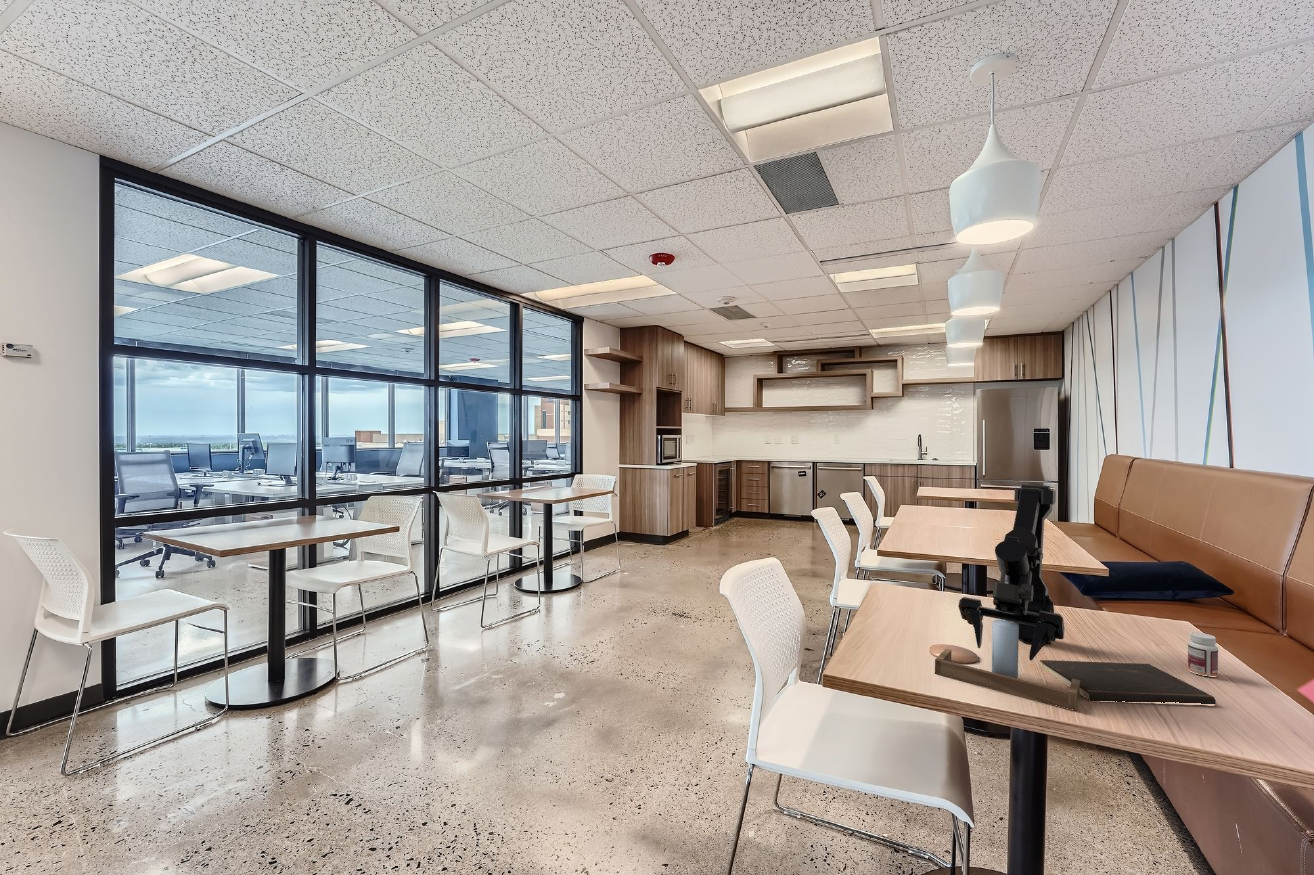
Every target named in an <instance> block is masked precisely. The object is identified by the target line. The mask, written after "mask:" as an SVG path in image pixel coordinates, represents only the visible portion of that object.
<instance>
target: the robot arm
mask: <svg viewBox="0 0 1314 875" xmlns="http://www.w3.org/2000/svg"><path fill="white" fill-rule="evenodd" d="M1013 500H1014V503H1016V502H1017V507H1016V512H1015V517H1014V523H1013V527H1012V530H1010V531H1009V532H1007V533H1005V535H1004V539H1003V541H1000V542H999V543H998V544H997V545H995V547H994V553H995V558H996V562H997V567H998V570H999V572H1000V578H999V582H998V581H996V582H994V583H993V590H992V591H993V592H992V598H993V599H992V603H993V606H995V607H994V608H992V607H988V606H983V605H982V601H981V600H982V599H977V598H972V597H966V596H963V597H961V598H960V599H959V601H958V610H959V614H960V616H961V619H962V620H964V621H966V622H967V623H968V624H969V625H972V626H973V629H974V635H975V641H976V645H977V649H981V647H982V641H983V629H984V625H983V619H984V617H987V618H992V619H996V620H1006V621H1011V622H1014V623H1016V624H1018V625H1019V638H1018V641H1021V642H1023V643H1025V644H1031V646H1030V649H1029V656H1028V658H1029V661H1033V660H1034V659H1035V657H1036V656H1037V655H1038V653H1039V652H1040V651H1041V650H1042V648H1043V647H1045V646H1046V645H1052V642H1056V639H1057V640H1064V639H1065V623H1064V621H1065V620H1064V617H1063V616H1062V615H1061V613H1056V612H1055V605H1054V602H1053V600H1052V598H1051V595H1049V589H1048V587H1047V585H1046V583H1045V582H1044V580H1043V579H1042V569H1043V568H1042V567H1043V559H1044V553H1043V551H1044V550H1043V549H1044V548H1043V547H1044V535H1045V534H1044V533H1045V532H1044V530H1045V529H1044V528H1045V520H1046V519H1047V518H1048V517H1049V516H1050V515H1051V513H1053V505H1056V501H1057V492H1056V490H1054V489H1052V490H1051V486H1050V485H1043V484H1042V485H1039V484H1038V485H1037V484H1021V486H1020V487H1015V488H1014V499H1013Z"/></svg>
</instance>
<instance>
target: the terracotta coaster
mask: <svg viewBox="0 0 1314 875" xmlns="http://www.w3.org/2000/svg"><path fill="white" fill-rule="evenodd" d="M945 649H950V650H952V652H951V662H954V663H958V664H962V665H966V664H974V663H977V661H978V660H979V658H978V655H977V653H975V652H974V651H973V650H971V649H968V648H965V647H962V646H959V645H952V644H943V643H942V644H939V643H938V644H934V645H933V644H932V645H931V646H929V650H928V651H929V654H931V656H933V657H934V658H937V657H938V656H939V655H940V654H941V653H942V652H943V651H944V650H945Z"/></svg>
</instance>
